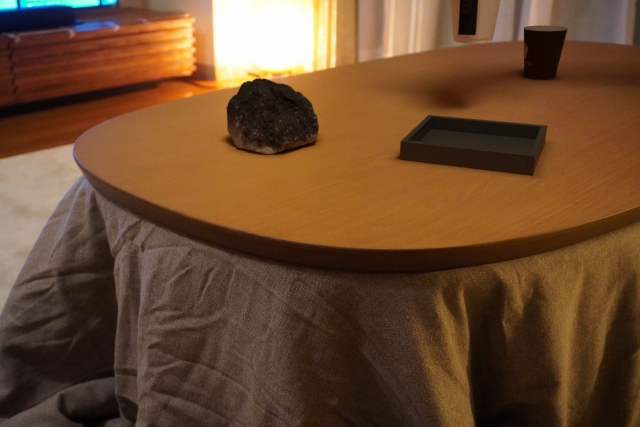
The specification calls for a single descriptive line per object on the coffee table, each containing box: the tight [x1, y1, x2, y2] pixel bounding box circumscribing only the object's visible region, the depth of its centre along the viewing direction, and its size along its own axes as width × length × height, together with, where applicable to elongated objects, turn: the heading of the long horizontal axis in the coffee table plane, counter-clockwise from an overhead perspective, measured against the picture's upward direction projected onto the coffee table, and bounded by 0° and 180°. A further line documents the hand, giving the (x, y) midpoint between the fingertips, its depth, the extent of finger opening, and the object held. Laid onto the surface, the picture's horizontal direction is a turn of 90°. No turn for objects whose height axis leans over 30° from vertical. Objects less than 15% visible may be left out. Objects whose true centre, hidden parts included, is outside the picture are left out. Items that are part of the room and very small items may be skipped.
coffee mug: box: [523, 24, 568, 81], centre depth 131 cm, size 12×9×10 cm
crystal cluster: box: [225, 77, 320, 155], centre depth 93 cm, size 13×14×10 cm
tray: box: [399, 114, 548, 176], centre depth 88 cm, size 18×15×3 cm
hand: (473, 30), depth 103 cm, fingers closed on foam cup, 9 cm apart
